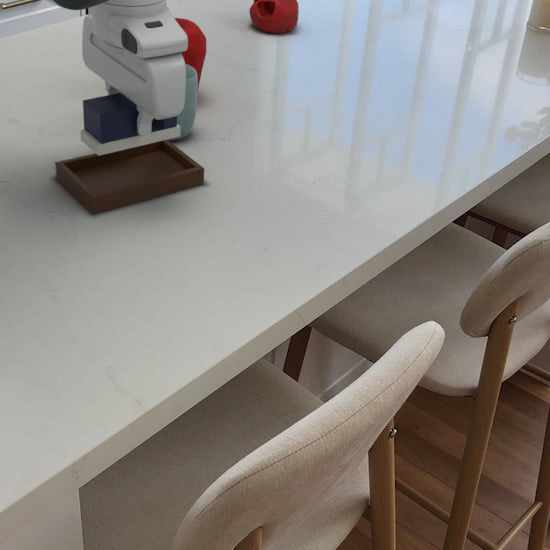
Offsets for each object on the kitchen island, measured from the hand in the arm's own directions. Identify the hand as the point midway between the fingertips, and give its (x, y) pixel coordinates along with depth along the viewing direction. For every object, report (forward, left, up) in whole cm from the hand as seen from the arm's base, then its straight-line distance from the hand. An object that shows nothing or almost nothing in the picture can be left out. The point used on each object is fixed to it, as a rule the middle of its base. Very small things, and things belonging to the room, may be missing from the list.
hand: (130, 123), depth 115 cm
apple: (+19, +21, -9) cm, 30 cm away
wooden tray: (0, 0, -9) cm, 9 cm away
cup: (+12, +10, -9) cm, 18 cm away
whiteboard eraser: (0, 0, -2) cm, 2 cm away
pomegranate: (+55, +42, -9) cm, 70 cm away
